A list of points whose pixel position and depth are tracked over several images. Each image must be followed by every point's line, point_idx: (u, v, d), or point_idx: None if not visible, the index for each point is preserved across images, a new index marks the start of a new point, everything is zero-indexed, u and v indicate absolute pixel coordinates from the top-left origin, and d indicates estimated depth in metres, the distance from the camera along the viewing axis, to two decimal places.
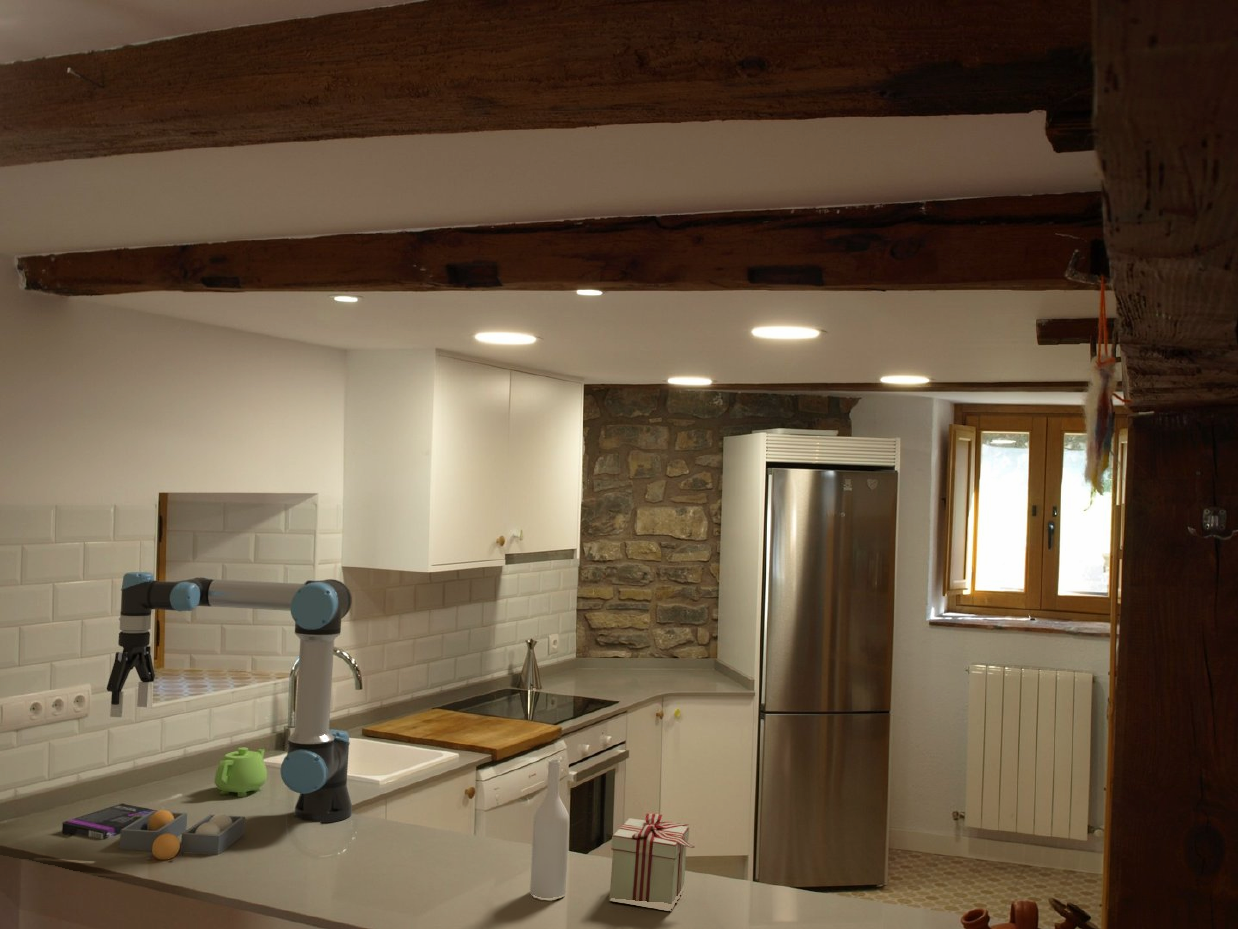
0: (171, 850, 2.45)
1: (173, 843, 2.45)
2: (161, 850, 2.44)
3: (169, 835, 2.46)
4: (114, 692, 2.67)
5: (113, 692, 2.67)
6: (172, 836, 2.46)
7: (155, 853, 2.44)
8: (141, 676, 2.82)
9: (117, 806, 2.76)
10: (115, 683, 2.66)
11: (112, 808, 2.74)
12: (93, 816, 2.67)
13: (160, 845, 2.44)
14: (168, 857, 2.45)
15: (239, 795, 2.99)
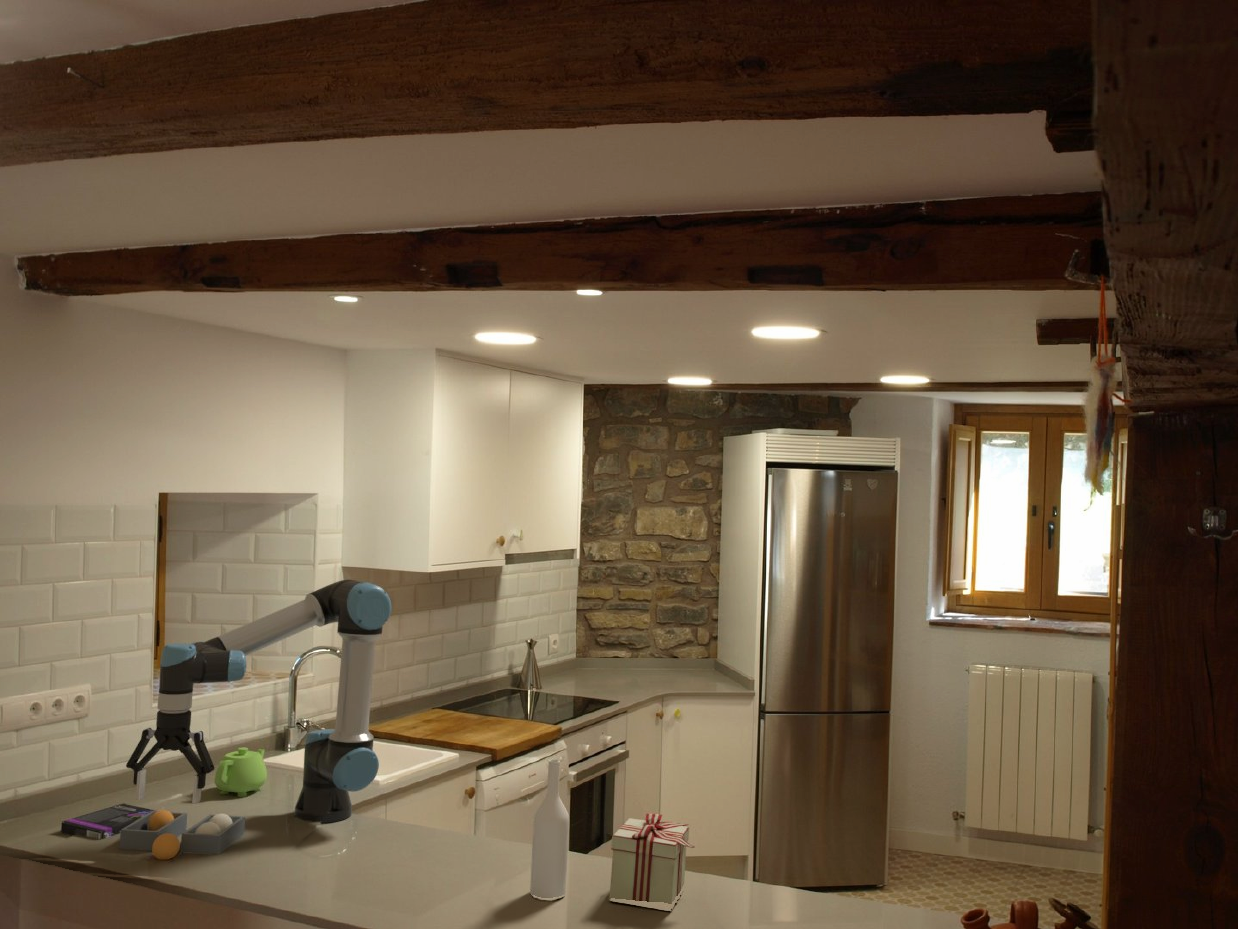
0: (171, 850, 2.45)
1: (173, 843, 2.45)
2: (161, 850, 2.44)
3: (169, 835, 2.46)
4: None
5: None
6: (172, 836, 2.46)
7: (155, 853, 2.44)
8: None
9: (118, 806, 2.76)
10: None
11: (112, 808, 2.74)
12: (93, 816, 2.67)
13: (160, 845, 2.44)
14: (168, 857, 2.45)
15: (239, 795, 2.99)
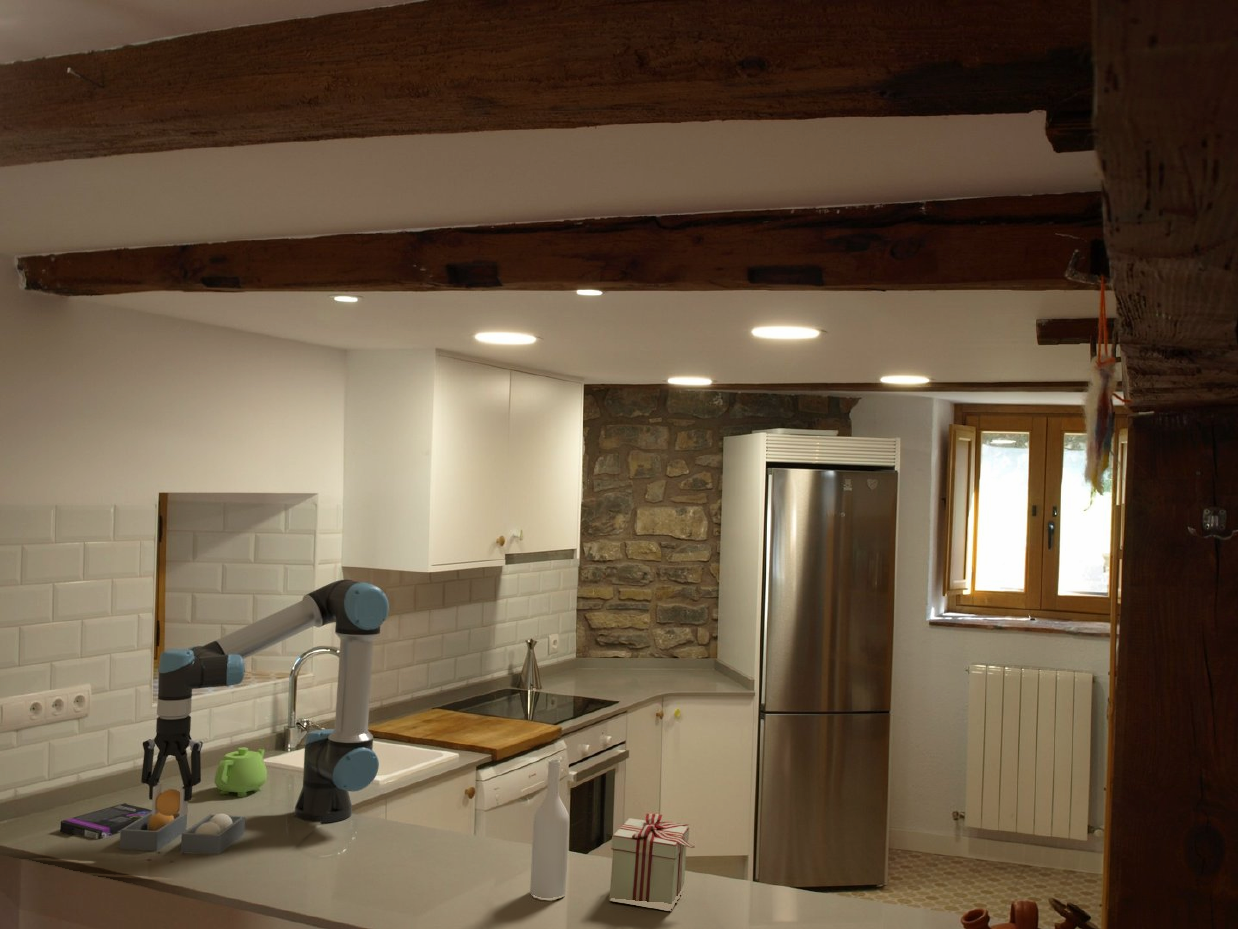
0: (175, 805, 2.45)
1: (177, 799, 2.46)
2: (165, 805, 2.44)
3: (173, 791, 2.47)
4: None
5: None
6: (176, 792, 2.47)
7: (159, 808, 2.45)
8: None
9: (118, 806, 2.77)
10: None
11: (113, 808, 2.75)
12: (92, 816, 2.67)
13: (164, 801, 2.44)
14: (172, 812, 2.45)
15: (239, 795, 2.99)
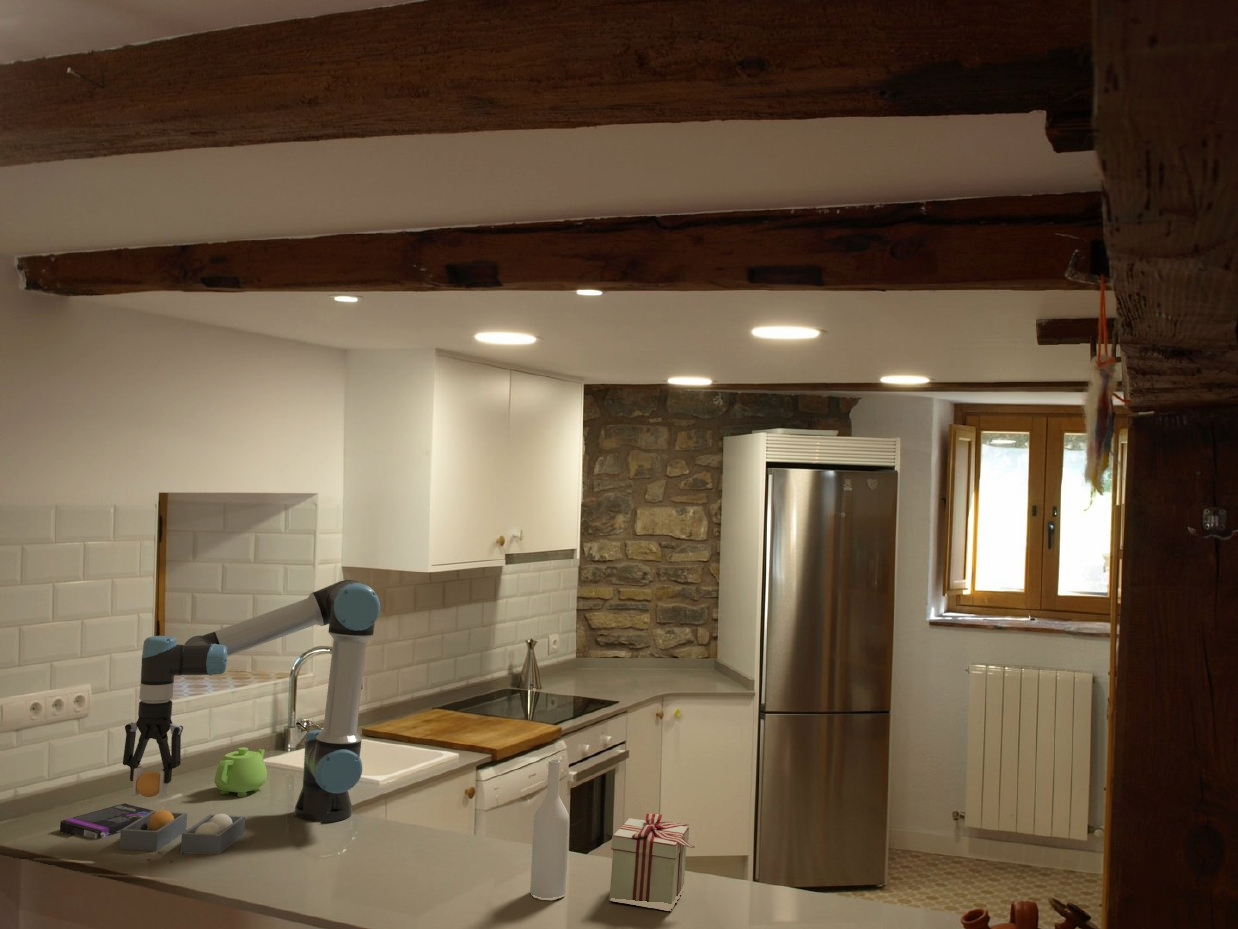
0: (155, 787, 2.53)
1: (157, 780, 2.54)
2: (145, 786, 2.52)
3: (153, 773, 2.55)
4: None
5: None
6: (156, 774, 2.55)
7: (139, 789, 2.53)
8: None
9: (119, 806, 2.77)
10: None
11: (113, 808, 2.75)
12: (92, 816, 2.67)
13: (145, 782, 2.52)
14: (152, 794, 2.53)
15: (239, 795, 2.99)
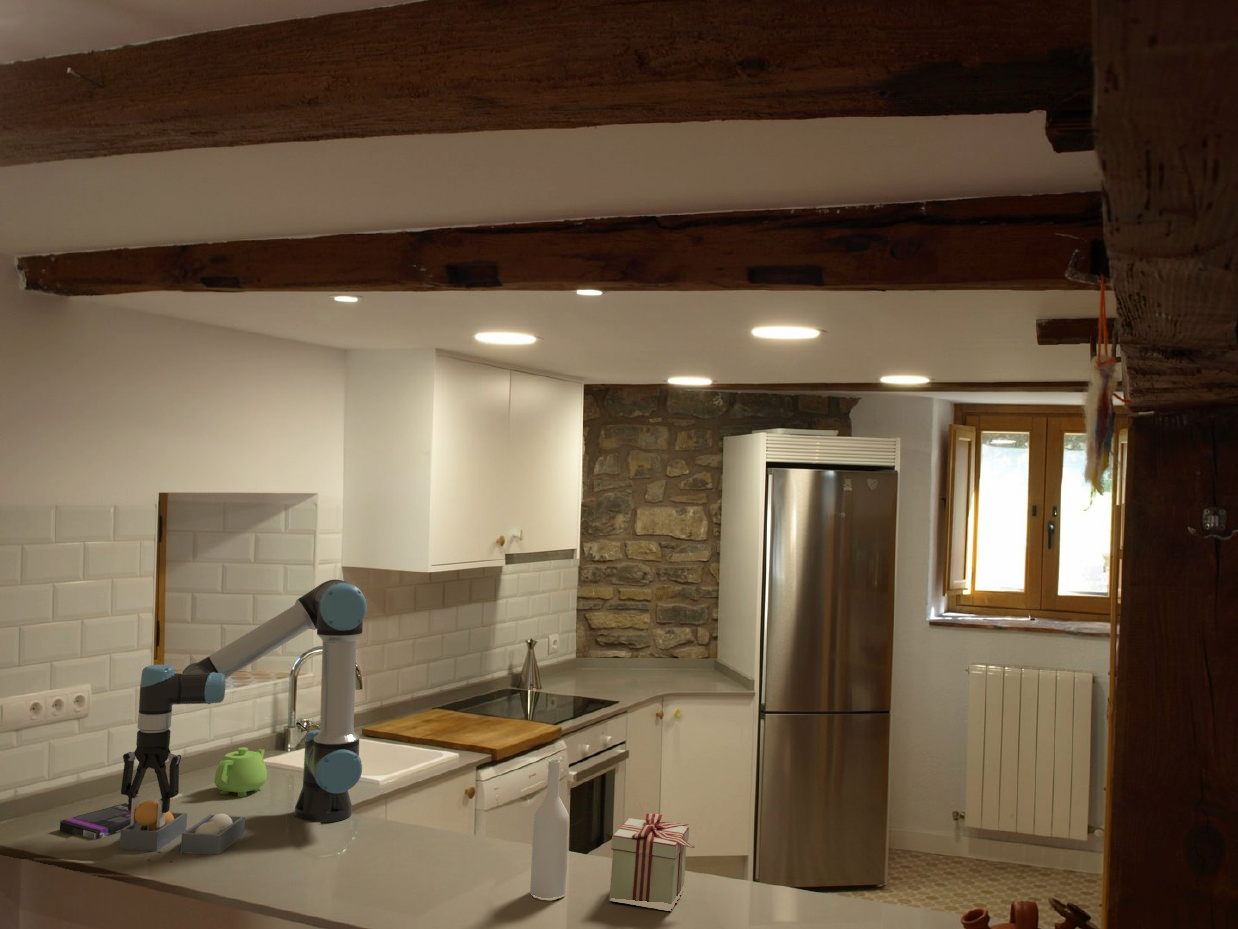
0: (153, 816, 2.53)
1: (155, 810, 2.54)
2: (143, 816, 2.52)
3: (151, 802, 2.55)
4: None
5: None
6: (154, 803, 2.55)
7: (137, 819, 2.52)
8: None
9: (119, 806, 2.77)
10: None
11: (113, 808, 2.75)
12: (92, 815, 2.67)
13: (143, 812, 2.52)
14: (150, 823, 2.53)
15: (239, 795, 2.99)
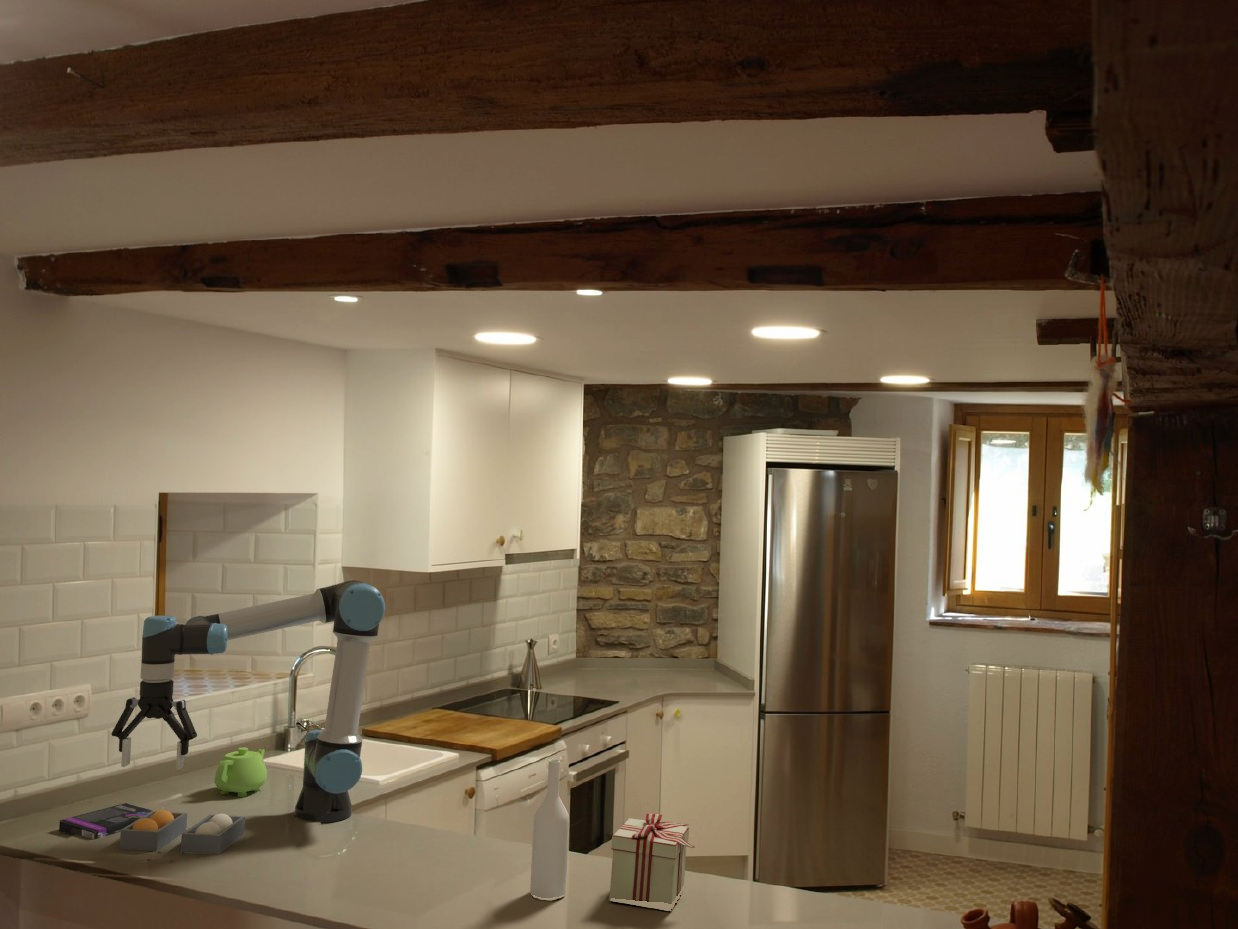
0: None
1: (150, 825, 2.54)
2: None
3: (145, 819, 2.55)
4: None
5: None
6: (149, 819, 2.55)
7: None
8: None
9: (119, 806, 2.77)
10: None
11: (113, 807, 2.75)
12: (92, 815, 2.68)
13: (138, 829, 2.52)
14: None
15: (239, 795, 2.99)
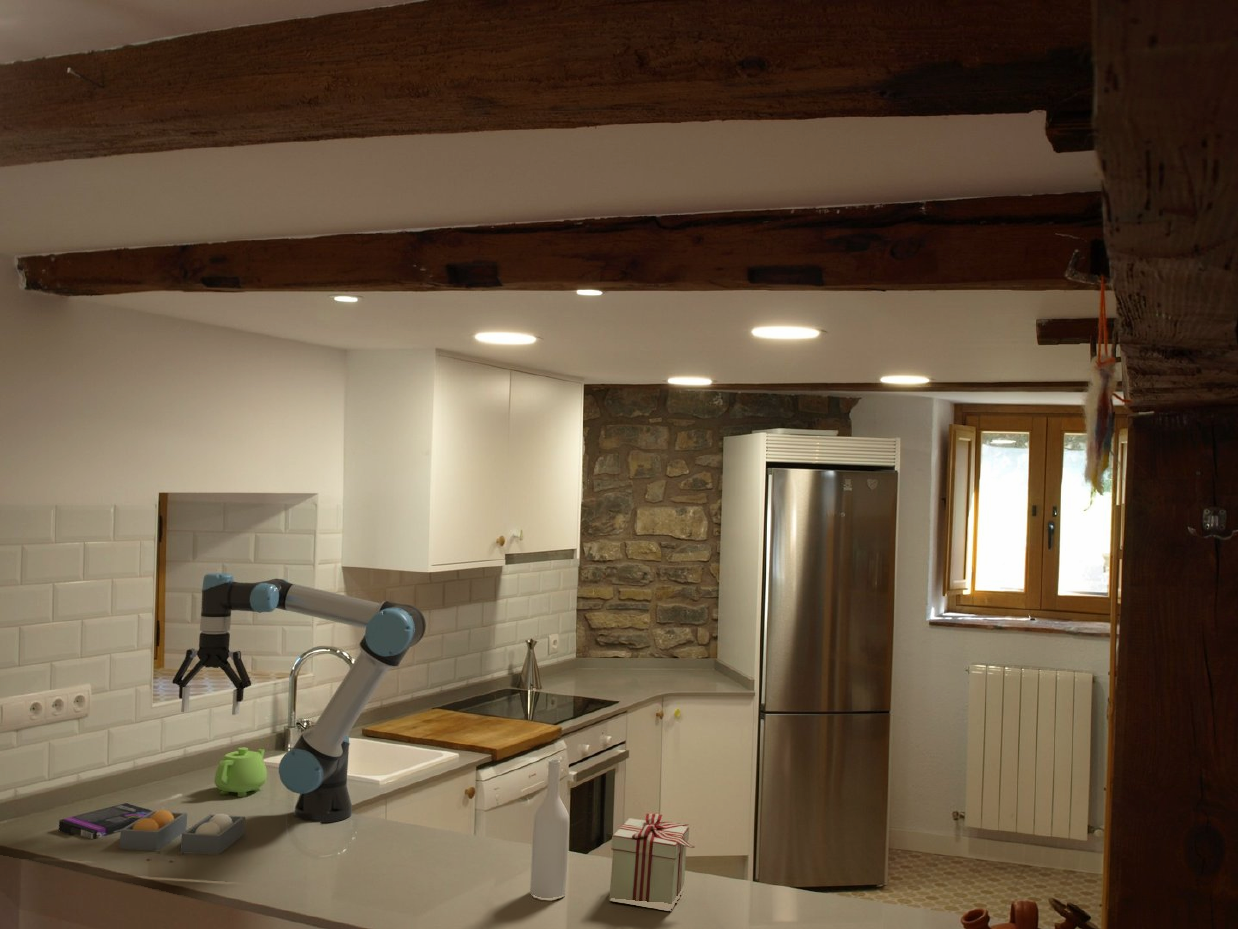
0: None
1: (151, 825, 2.54)
2: None
3: (146, 819, 2.55)
4: None
5: None
6: (149, 820, 2.55)
7: None
8: None
9: (120, 806, 2.77)
10: None
11: (114, 807, 2.75)
12: (91, 815, 2.68)
13: (139, 829, 2.52)
14: None
15: (239, 795, 2.99)
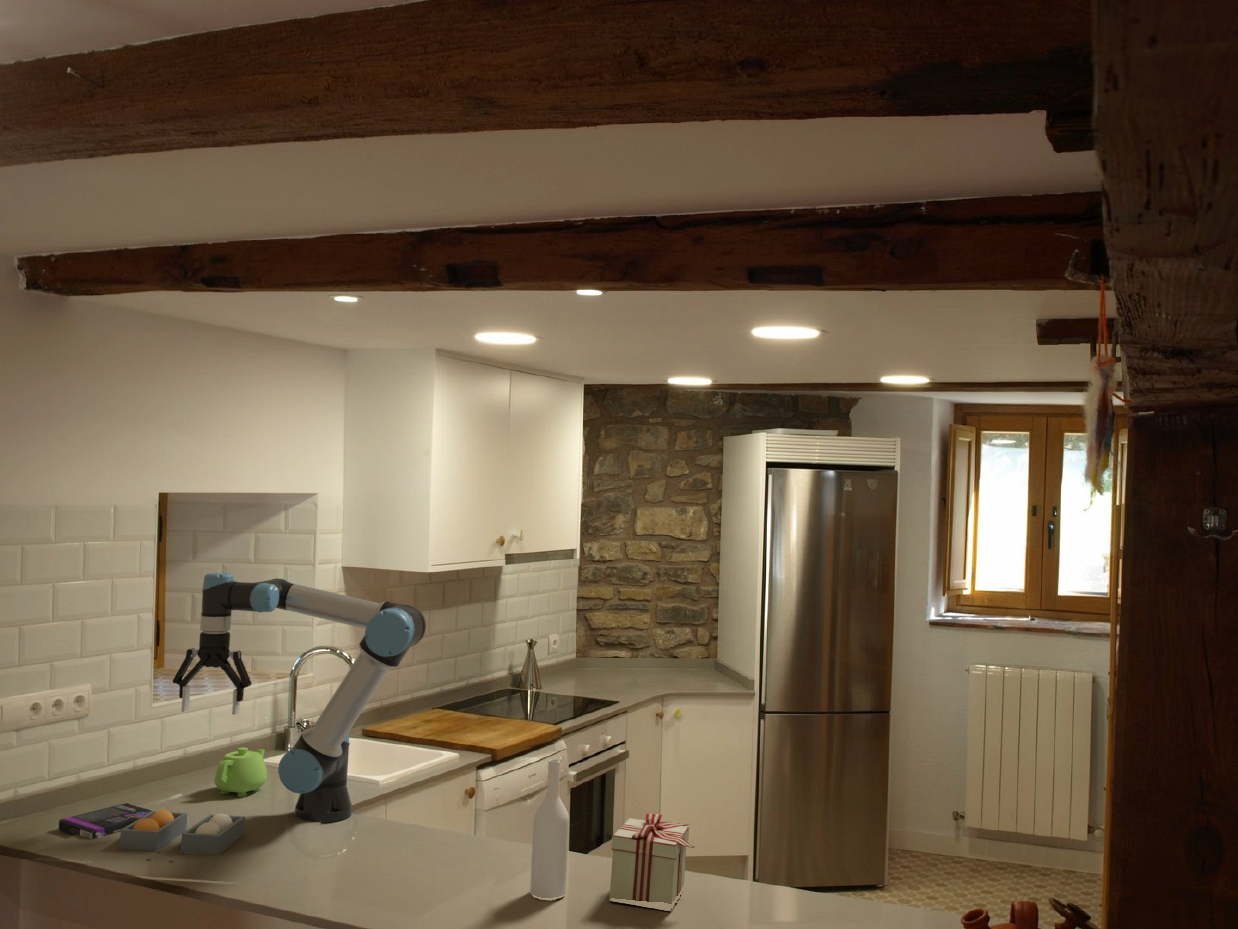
0: None
1: (151, 826, 2.54)
2: None
3: (147, 819, 2.55)
4: None
5: None
6: (150, 820, 2.55)
7: None
8: None
9: (120, 806, 2.77)
10: None
11: (114, 807, 2.75)
12: (91, 815, 2.68)
13: (139, 829, 2.52)
14: None
15: (239, 795, 2.99)
